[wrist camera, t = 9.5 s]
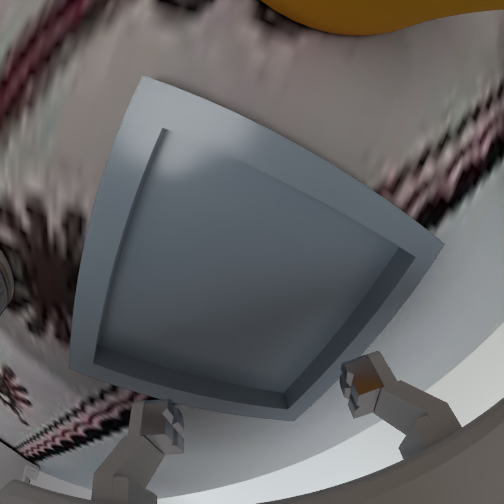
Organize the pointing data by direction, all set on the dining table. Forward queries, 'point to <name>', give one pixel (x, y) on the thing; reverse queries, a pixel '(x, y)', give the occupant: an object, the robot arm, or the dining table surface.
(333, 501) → the robot arm
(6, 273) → the pill bottle
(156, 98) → the dish
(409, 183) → the dining table surface
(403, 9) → the beer bottle
